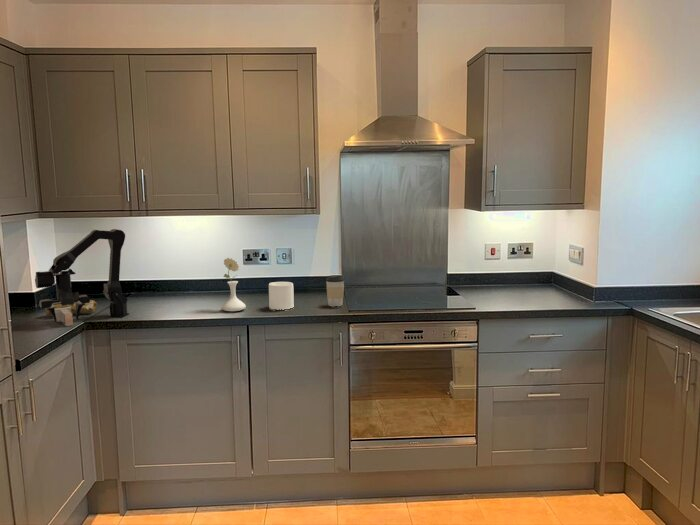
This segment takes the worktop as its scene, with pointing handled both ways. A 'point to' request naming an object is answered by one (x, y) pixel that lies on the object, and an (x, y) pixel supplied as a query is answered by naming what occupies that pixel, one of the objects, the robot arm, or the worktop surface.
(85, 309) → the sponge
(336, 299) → the coffee cup
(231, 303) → the flower in vase
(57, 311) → the tongs pivot
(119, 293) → the robot arm
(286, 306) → the cup
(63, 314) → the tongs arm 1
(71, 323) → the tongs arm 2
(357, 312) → the worktop surface
